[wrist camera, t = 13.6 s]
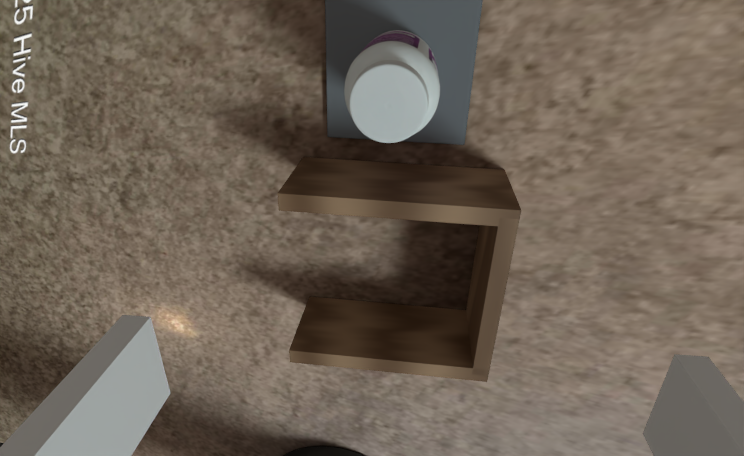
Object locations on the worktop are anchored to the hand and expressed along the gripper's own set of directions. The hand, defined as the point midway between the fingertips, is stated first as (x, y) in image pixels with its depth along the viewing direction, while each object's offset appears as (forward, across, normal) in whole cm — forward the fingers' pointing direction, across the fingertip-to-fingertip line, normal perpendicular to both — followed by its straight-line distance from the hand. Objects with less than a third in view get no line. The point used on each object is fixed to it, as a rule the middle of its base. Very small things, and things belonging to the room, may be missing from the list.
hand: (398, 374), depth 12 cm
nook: (+24, -2, -10) cm, 26 cm away
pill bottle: (+24, -1, +4) cm, 24 cm away
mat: (+24, -1, +4) cm, 25 cm away
